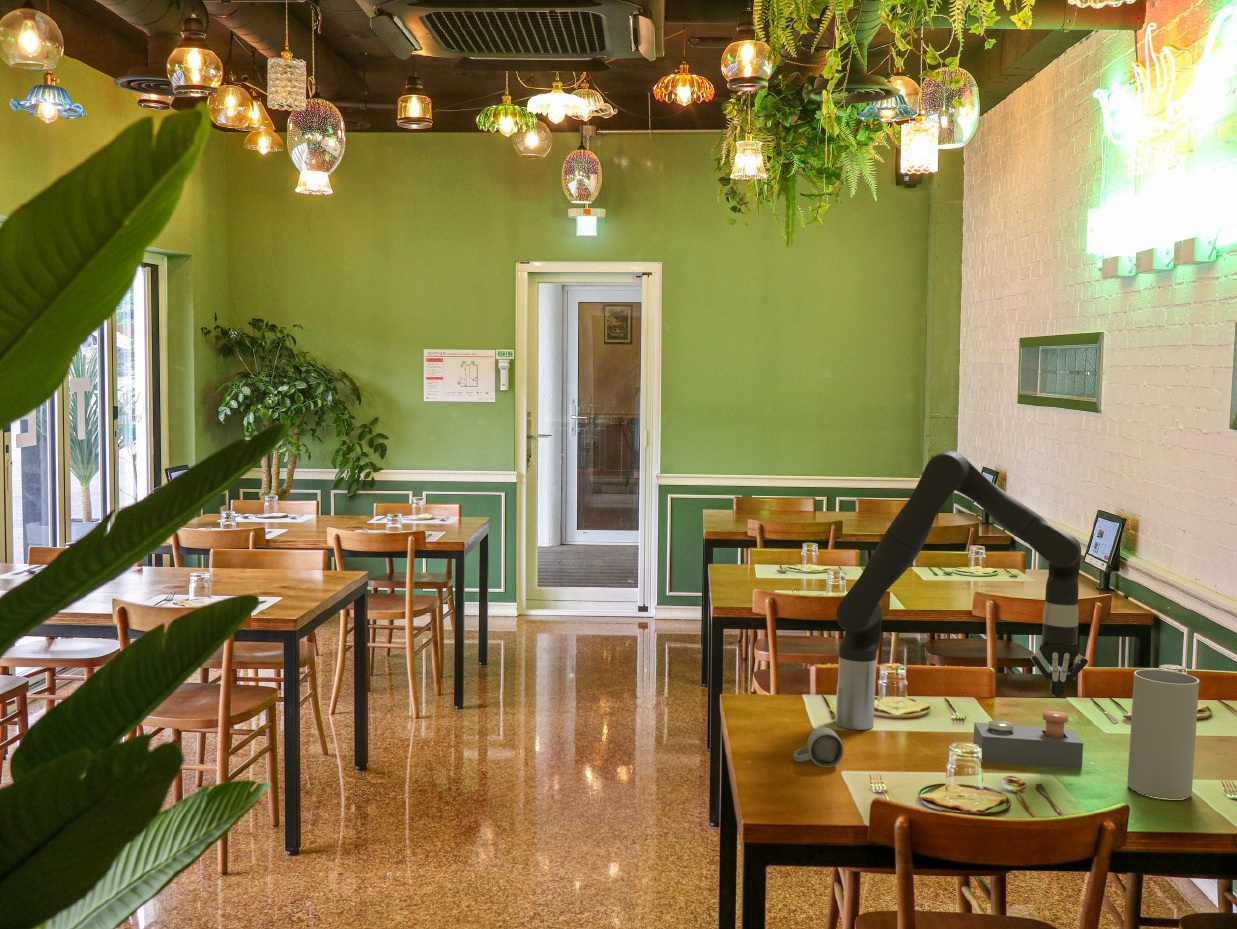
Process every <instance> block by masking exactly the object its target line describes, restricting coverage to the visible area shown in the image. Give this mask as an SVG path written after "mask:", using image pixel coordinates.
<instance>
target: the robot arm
mask: <svg viewBox="0 0 1237 929" xmlns="http://www.w3.org/2000/svg"><path fill="white" fill-rule="evenodd" d="M954 492H957V493H959V494H961V495H963V496H965V497H967V498H968V499H970V500H972V501H973V502H974V503H976V504H977V505H978V506H980V507H981V508H982V509H983V510H984V511H985V512H986V513H987V514H988V515H989V516H990V517H991V518H992V520H994V521H995V522H996V523H998V524H999V525H1000V526H1001V527H1002V528H1004V529H1005V530H1006V531H1007V532H1009V533H1010V534H1012V535H1013V536H1014V537H1016V538H1017V539H1019V540H1020V541H1022V542H1024V543H1026V544H1027V545H1029V546H1030V548H1032V549H1033V550H1034V551H1035V552H1036V553H1038V554H1039V555H1040V556H1041V557H1042V558H1043V559H1044V560H1045V561H1047V562H1048V577H1047V580H1046V584H1045V598H1044V606H1043V615H1042V634H1041V635H1042V636H1041V637H1042V638H1041V645H1040V646H1039V650H1038V651H1037V652H1035V653H1031V654H1030V655H1029V658H1030V660H1031V662H1032V663H1033V664H1034V665H1035V666H1036V668H1037V669H1038V670H1039V672H1040V673H1041V674H1042V675H1043V677H1044V678H1046V679H1049V681H1050V682H1049V684H1050V685H1049V692H1050V694H1051V695H1052V696H1053V698H1062V696H1064V693H1065V683H1066V681H1068V680H1070V681H1072V680H1074V679H1075V677H1076V676H1077V675H1078V674H1080V673H1081V671H1082V670H1083V669H1084V667H1086V666H1087V664H1088V663H1089V660H1088V659H1087V657H1085V656H1082V655H1081V654H1080V650H1079V648H1078V632H1079V575H1080V569H1081V560H1082V559H1081V558H1082V545H1081V544H1080V542H1079V540H1078V539H1077V538H1076V537H1074V536H1073V535H1070V534H1066V533H1064V534H1063V533H1062V532H1060V531H1059V530H1057V529H1056V528H1054V527H1053V526H1052V525H1050V524H1049V523H1048V522H1047V520H1046V519H1045V518H1043V517H1042V516H1041V515H1040V514H1038V513H1036V511H1034V510H1032V509H1031V508H1030V507H1028V506H1027V505H1025V504H1024V503H1022V502H1021V501H1019V500H1017V499H1016V498H1015V497H1013V496H1012V495H1010V494H1009V493H1007V492H1006V491H1005V490H1003V489H1001V487H999V486H997V485H996V484H995V483H994V482H993V481H991V480H990V479H989V478H988V477H986V476H985V475H984V474H983V473H982V472H981V471H979V470H978V469H977V468H976V467H975V466H974V464H972V463H971V462H970V461H969V460H968V459H967V458H966V457H965V456H964V455H963V454H961V453H960V452H959V451H955V450H944V451H942V452H940V453H937V454H935V455H934V456H932V457H931V458H930V459H929V460H928V462H927V464H926V466H925V468H924V469H923V472H922V474H921V477H920V479H919V480H918V482H917V485H916V486H915V489H914V490H913V492H912V494H911V496H910V497H909V498H908V501H907V502H906V503H905V505H904V506H903V507H902V508H901V509H900V510H899V512H898V514H897V515H896V516H895V518H894V519H893V521H892V522H891V523H890V525H889V526H888V528H887V529H886V531H885V532H884V534H883V536H882V538H881V539H880V540H879V543H878V544H877V546H876V548H875V549H874V551H873V552H872V554H871V556H870V558H869V560H868V561H867V563H866V565H865V567H864V568H863V571H862V572H861V574H860V575H859V577H858V579H856V581H855V583H853V585H852V586H851V588H850V589H849V590H848V592H847V593H846V594H845V595H844V596H843V598H842V599H841V600H840V602H839V603H838V605H837V608H836V612H835V613H836V621H837V623H838V624H837V625H838V626H839V627H840V628H841V629H842V630H843V631H845V632H844V636H843V639H842V642H840V644H839V649H838V651H839V652H838V670H837V671H838V672H837V673H838V674H837V684H836V698H835V700H836V701H835V702H836V703H835V725H836V727H838V728H844V729H848V730H857V731H858V730H859V731H862V730H863V731H864V730H870V729H873V728H874V721H875V700H876V699H875V696H876V681H877V680H876V677H877V654H878V650H879V649H880V648H879V647H880V644H881V636H882V635H881V633H882V623H883V622H882V621H883V610H882V607H881V606H882V605H881V600H882V598H883V597H884V595H885V594H886V593H887V591H888V590H889V589H890V587H892V586H893V584H895V583H896V582H897V581H898V580H899V579H900V578H901V576H903V574H905V572H906V571H907V570H908V569H909V567H910V566H912V564H913V563H914V561H915V560H916V558H917V557H918V555H919V553H920V552H921V550H922V549H923V547H924V545H925V543H926V541H927V539H928V537H929V535H930V532H931V530H932V527H933V524H934V521H935V519H936V518H937V515H938V513H939V512H940V510H942V507H943V506H944V505H945V503H946V502H947V501H948V499H950V497H951V496H952V494H954ZM1042 657H1043V658H1042ZM1043 659H1045V661H1046V663H1047V664H1048V667H1049V671H1048V670H1047V669H1046V668H1045V666H1044V665H1043V663H1041V662H1043ZM1073 661H1074V662H1075V663H1074V664H1073V665H1072V666H1071V667H1070V668H1069V666H1070V665H1071V664H1072V663H1073Z"/></svg>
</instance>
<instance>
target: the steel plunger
mask: <svg viewBox="0 0 1237 929" xmlns="http://www.w3.org/2000/svg"><path fill="white" fill-rule="evenodd" d="M987 723H988V728H989V729H990V730H991V733H998V734H1010V732H1013V728H1014V725H1015V724H1014V723H1012V722H1010V721H1006V720H1001V719H1000V720H998V719H996V720H995V719H994V720H993V719H992V720H989V721H988V722H987Z"/></svg>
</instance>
